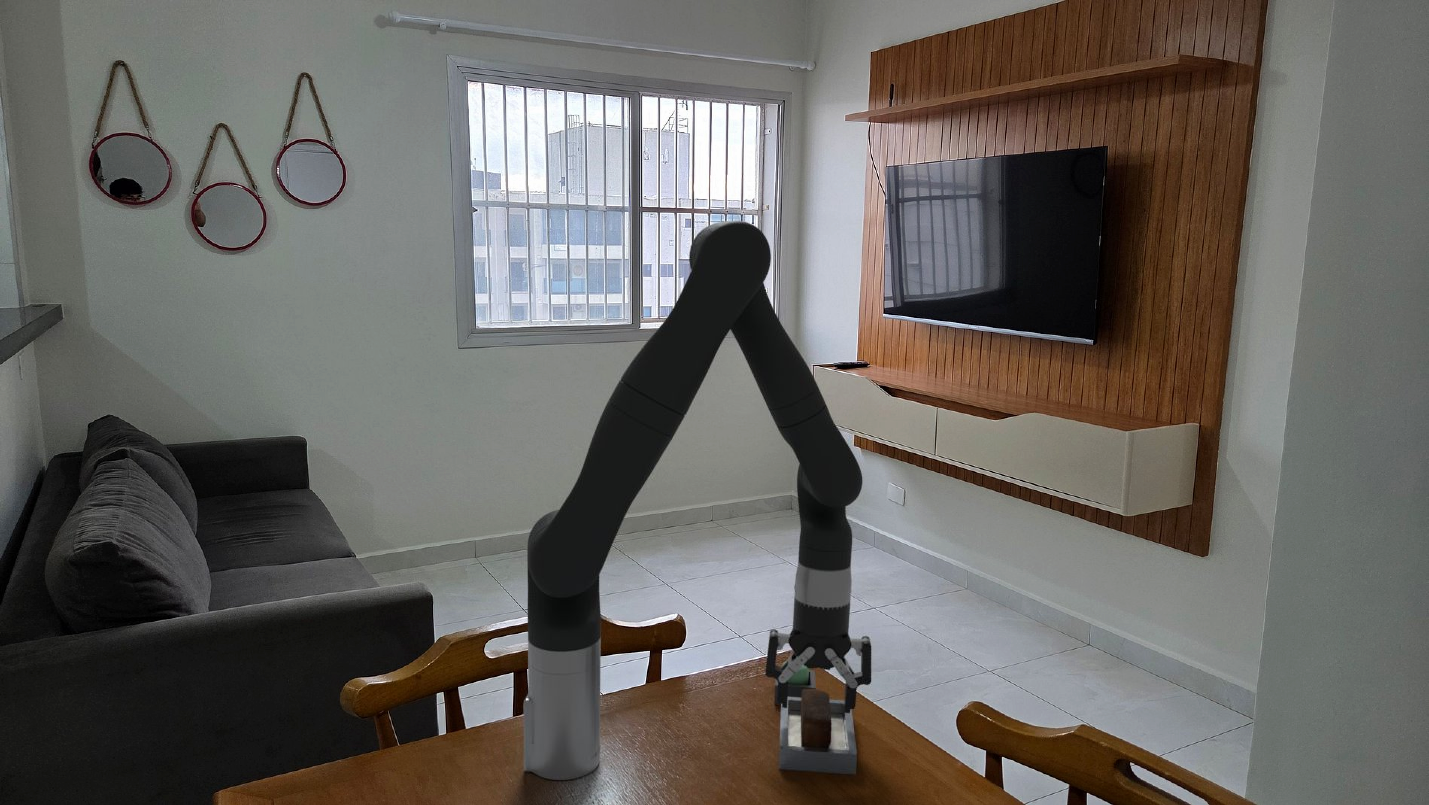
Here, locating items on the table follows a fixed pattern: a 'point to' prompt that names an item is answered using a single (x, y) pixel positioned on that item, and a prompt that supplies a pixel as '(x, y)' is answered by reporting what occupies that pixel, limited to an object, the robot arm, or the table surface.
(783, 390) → the robot arm
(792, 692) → the button box
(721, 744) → the table surface
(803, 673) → the button
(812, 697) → the brick
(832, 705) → the tray
